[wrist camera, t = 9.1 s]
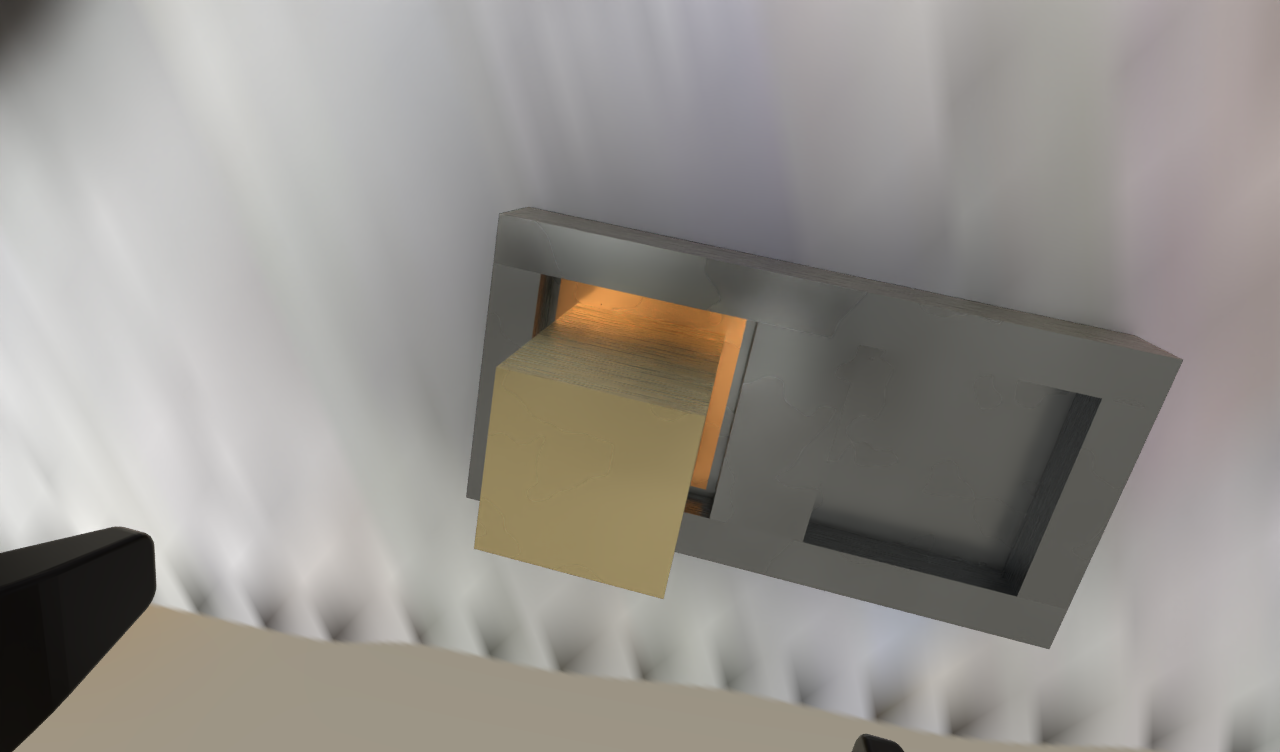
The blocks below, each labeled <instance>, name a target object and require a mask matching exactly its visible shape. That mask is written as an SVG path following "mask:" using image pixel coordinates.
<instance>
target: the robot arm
mask: <svg viewBox="0 0 1280 752" xmlns="http://www.w3.org/2000/svg"><path fill="white" fill-rule="evenodd" d="M155 591H156V569H155V549H154V542H153V540H152V538H151V536H149V535H148V534H146V533H144V532H140V531H136V530H133V529H129V528H126V527H111V528H106V529H102V530H98V531H93V532H89V533H85V534H80V535H76V536H72V537H67V538H63V539H59V540H54V541H50V542H46V543H41V544H37V545H33V546H28V547H24V548H20V549H15V550H11V551H7V552H2V553H0V752H12V751H14V750H15V749H16V748H17V747H18V746H19V745H20V744H21V743H22V742H23V741H24V740H25V739H26V738H27V737H28V736H29V735H30V734H32V733H33V732H34V731H35V730H36V729H37V728H38V727H39V726H40V725H41V724H42V723H43V722H44V721H45V720H46V719H47V718H48V717H49V716H50V715H51V714H52V713H53V712H54V711H55V710H56V709H57V708H58V706H60V704H61V703H62V702H63V701H64V700H65V699H66V698H67V697H68V696H69V695H70V694H71V693H72V692H73V690H74V689H75V688H76V687H77V686H78V685H79V684H80V683H81V682H82V680H83V679H84V678H85V677H86V676H87V675H88V674H89V672H90V671H91V670H92V669H93V668H94V667H95V666H96V665H97V664H98V663H99V661H100V660H101V659H102V658H103V657H104V656H105V654H106V653H108V651H109V650H110V649H111V648H112V647H113V646H114V645H115V643H116V642H117V641H118V640H119V639H120V638H121V637H122V636H123V634H125V632H126V631H127V630H128V629H129V628H130V627H131V626H132V625H133V623H134V622H135V621H136V620H137V619H138V618H139V617H140V616H141V615H142V613H143V612H144V611H145V610H146V609H147V608H148V606H149V605H150V603H151V602H152V600H153V597H154V595H155ZM852 752H904V751H903V749H902V748H901V747H900V746H899V745H898V744H897V743H895V742H893V741H891V740H887V739H884V738H880V737H876V736H873V735H869V734H863V735H860V736H859V738H858V739H857V740H856V742H855V745H854V747H853V751H852Z"/></svg>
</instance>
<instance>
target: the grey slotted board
mask: <svg viewBox="0 0 1280 752" xmlns="http://www.w3.org/2000/svg"><path fill="white" fill-rule="evenodd" d="M577 303H581V304H585V305H590V306H594V307H599V308H603V309H608V310H612V311H617V312H621V313H626V314H630V315H635V316H639V317H644V318H648V319H653V320H657V321H661V322H666V323H670V324H675V325H679V326H684V327H688V328H693V329H697V330H702V331H706V332H711V333H715V334H720V335H724V336H725V339H724V343H723V347H722V352H721V356H720V360H719V365H718V369H717V373H716V378H715V382H714V386H713V391H712V395H711V399H710V403H709V408H708V412H707V416H706V421H705V425H704V429H703V434H702V438H701V442H700V447H699V451H698V455H697V460H696V464H695V468H694V472H693V477H692V481H691V485H690V489H689V493H688V498H687V502H686V506H685V510H684V514H683V519H682V523H681V527H680V531H679V535H678V540H677V544H676V548H675V552H678V553H682V554H686V555H690V556H693V557H697V558H701V559H705V560H709V561H713V562H716V563H720V564H724V565H728V566H732V567H736V568H739V569H743V570H747V571H751V572H755V573H759V574H763V575H766V576H770V577H774V578H778V579H782V580H786V581H789V582H793V583H797V584H801V585H805V586H809V587H812V588H816V589H820V590H824V591H828V592H832V593H836V594H839V595H843V596H847V597H851V598H855V599H859V600H862V601H866V602H870V603H874V604H878V605H882V606H885V607H889V608H893V609H897V610H901V611H905V612H908V613H912V614H916V615H920V616H924V617H928V618H932V619H935V620H939V621H943V622H947V623H951V624H955V625H958V626H962V627H966V628H970V629H974V630H978V631H981V632H985V633H989V634H993V635H997V636H1001V637H1005V638H1008V639H1012V640H1016V641H1020V642H1024V643H1028V644H1031V645H1035V646H1039V647H1043V648H1047V649H1050V647H1051V644H1052V642H1053V640H1054V638H1055V636H1056V634H1057V631H1058V629H1059V627H1060V625H1061V623H1062V621H1063V618H1064V616H1065V614H1066V612H1067V610H1068V608H1069V606H1070V603H1071V601H1072V599H1073V597H1074V595H1075V593H1076V590H1077V588H1078V586H1079V584H1080V582H1081V580H1082V577H1083V575H1084V573H1085V571H1086V569H1087V567H1088V564H1089V562H1090V560H1091V558H1092V556H1093V554H1094V552H1095V549H1096V547H1097V545H1098V543H1099V541H1100V539H1101V536H1102V534H1103V532H1104V530H1105V528H1106V526H1107V523H1108V521H1109V519H1110V517H1111V515H1112V513H1113V510H1114V508H1115V506H1116V504H1117V502H1118V500H1119V498H1120V495H1121V493H1122V491H1123V489H1124V487H1125V485H1126V482H1127V480H1128V478H1129V476H1130V474H1131V472H1132V469H1133V467H1134V465H1135V463H1136V461H1137V459H1138V456H1139V454H1140V452H1141V450H1142V448H1143V446H1144V444H1145V441H1146V439H1147V437H1148V435H1149V433H1150V431H1151V428H1152V426H1153V424H1154V422H1155V420H1156V418H1157V415H1158V413H1159V411H1160V409H1161V407H1162V405H1163V402H1164V400H1165V398H1166V396H1167V394H1168V392H1169V389H1170V387H1171V385H1172V383H1173V381H1174V379H1175V377H1176V374H1177V372H1178V370H1179V368H1180V366H1181V364H1182V361H1183V360H1182V359H1180V358H1178V357H1176V356H1174V355H1173V354H1171V353H1169V352H1167V351H1165V350H1163V349H1161V348H1159V347H1157V346H1155V345H1153V344H1151V343H1149V342H1147V341H1145V340H1143V339H1141V338H1139V337H1137V336H1134V335H1130V334H1125V333H1120V332H1116V331H1111V330H1106V329H1101V328H1097V327H1092V326H1087V325H1083V324H1078V323H1073V322H1068V321H1064V320H1059V319H1054V318H1050V317H1045V316H1040V315H1035V314H1031V313H1026V312H1021V311H1017V310H1012V309H1007V308H1002V307H998V306H993V305H988V304H984V303H979V302H974V301H969V300H965V299H960V298H955V297H951V296H946V295H941V294H936V293H932V292H927V291H922V290H918V289H913V288H908V287H903V286H899V285H894V284H889V283H885V282H880V281H875V280H870V279H866V278H861V277H856V276H852V275H847V274H842V273H837V272H833V271H828V270H823V269H819V268H814V267H809V266H804V265H800V264H795V263H790V262H786V261H781V260H776V259H771V258H767V257H762V256H757V255H753V254H748V253H743V252H739V251H734V250H729V249H724V248H720V247H715V246H710V245H706V244H701V243H696V242H691V241H687V240H682V239H677V238H673V237H668V236H663V235H658V234H654V233H649V232H644V231H640V230H635V229H630V228H625V227H621V226H616V225H611V224H607V223H602V222H597V221H592V220H588V219H583V218H578V217H574V216H569V215H564V214H559V213H555V212H550V211H545V210H541V209H536V208H531V207H525V208H521V209H516V210H512V211H508V212H503V213H499V220H498V229H497V238H496V246H495V255H494V263H493V272H492V280H491V289H490V298H489V306H488V315H487V323H486V332H485V340H484V349H483V358H482V366H481V375H480V383H479V392H478V400H477V409H476V418H475V426H474V435H473V443H472V452H471V461H470V469H469V478H468V486H467V495H466V497H467V498H471V499H474V500H478V501H480V495H481V487H482V479H483V471H484V463H485V454H486V446H487V438H488V430H489V422H490V413H491V405H492V397H493V389H494V381H495V372H496V367H497V366H498V365H499V364H501V363H502V362H503V361H505V360H506V359H507V358H508V357H510V356H511V355H512V354H513V353H515V352H516V351H517V350H519V349H520V348H521V347H522V346H524V345H525V344H526V343H527V342H529V341H530V340H531V339H533V338H534V337H535V336H536V335H538V334H539V333H540V332H541V331H543V330H544V329H545V328H547V327H548V326H549V325H550V324H552V323H553V322H554V321H555V320H557V319H558V318H559V317H561V316H562V315H563V314H564V313H566V312H567V311H568V310H569V309H571V308H572V307H573V306H575V305H576V304H577Z"/></svg>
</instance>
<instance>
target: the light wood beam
mask: <svg viewBox="0 0 1280 752" xmlns="http://www.w3.org/2000/svg"><path fill="white" fill-rule="evenodd" d="M724 339H725V336H724V335H720V334H715V333H711V332H706V331H702V330H697V329H693V328H688V327H684V326H679V325H675V324H670V323H666V322H661V321H657V320H653V319H648V318H644V317H639V316H635V315H630V314H626V313H621V312H617V311H612V310H608V309H603V308H599V307H594V306H590V305H585V304H581V303H577V304H576V305H575V306H573V307H572V308H571V309H569V310H568V311H567V312H566V313H564V314H563V315H562V316H561V317H559V318H558V319H557V320H555V321H554V322H553V323H552V324H550V325H549V326H548V327H547V328H545V329H544V330H543V331H541V332H540V333H539V334H538V335H536V336H535V337H534V338H533V339H531V340H530V341H529V342H527V343H526V344H525V345H524V346H522V347H521V348H520V349H519V350H517V351H516V352H515V353H513V354H512V355H511V356H510V357H508V358H507V359H506V360H505V361H503V362H502V363H501V364H499V365H498V366H497V367H496V372H495V381H494V389H493V397H492V405H491V413H490V422H489V430H488V438H487V446H486V454H485V463H484V471H483V479H482V487H481V495H480V504H479V512H478V520H477V528H476V536H475V545H474V549H477V550H481V551H485V552H489V553H492V554H496V555H500V556H504V557H507V558H511V559H515V560H519V561H522V562H526V563H530V564H534V565H537V566H541V567H545V568H549V569H552V570H556V571H560V572H564V573H567V574H571V575H575V576H579V577H582V578H586V579H590V580H594V581H597V582H601V583H605V584H609V585H612V586H616V587H620V588H624V589H628V590H631V591H635V592H639V593H643V594H646V595H650V596H654V597H658V598H661V599H663V598H664V594H665V590H666V586H667V581H668V577H669V573H670V569H671V565H672V560H673V556H674V552H675V548H676V544H677V540H678V535H679V531H680V527H681V523H682V519H683V514H684V510H685V506H686V502H687V498H688V493H689V489H690V485H691V481H692V477H693V472H694V468H695V464H696V460H697V455H698V451H699V447H700V442H701V438H702V434H703V429H704V425H705V421H706V416H707V412H708V408H709V403H710V399H711V395H712V391H713V386H714V382H715V378H716V373H717V369H718V365H719V360H720V356H721V352H722V347H723V343H724Z"/></svg>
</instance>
